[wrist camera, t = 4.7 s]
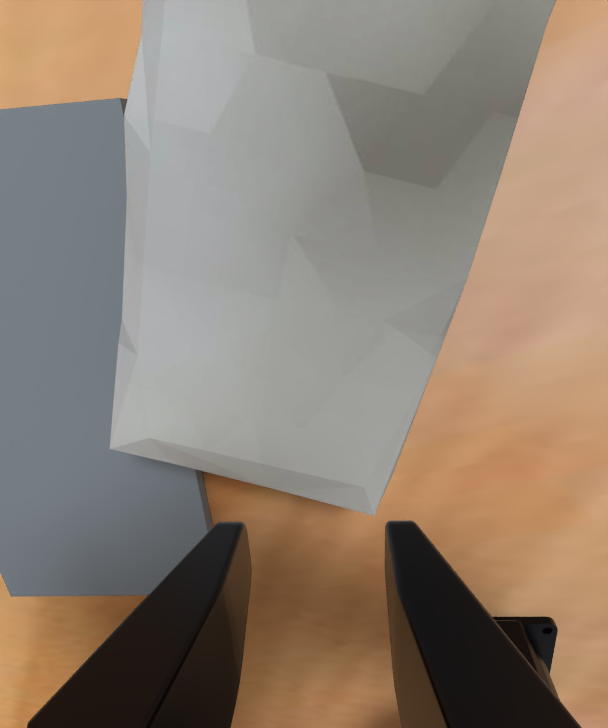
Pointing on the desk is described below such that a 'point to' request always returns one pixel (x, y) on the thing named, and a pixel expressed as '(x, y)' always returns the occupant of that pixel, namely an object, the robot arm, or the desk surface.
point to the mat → (74, 370)
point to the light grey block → (305, 226)
